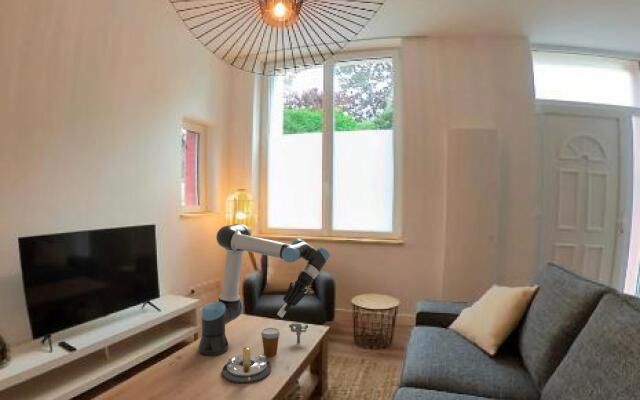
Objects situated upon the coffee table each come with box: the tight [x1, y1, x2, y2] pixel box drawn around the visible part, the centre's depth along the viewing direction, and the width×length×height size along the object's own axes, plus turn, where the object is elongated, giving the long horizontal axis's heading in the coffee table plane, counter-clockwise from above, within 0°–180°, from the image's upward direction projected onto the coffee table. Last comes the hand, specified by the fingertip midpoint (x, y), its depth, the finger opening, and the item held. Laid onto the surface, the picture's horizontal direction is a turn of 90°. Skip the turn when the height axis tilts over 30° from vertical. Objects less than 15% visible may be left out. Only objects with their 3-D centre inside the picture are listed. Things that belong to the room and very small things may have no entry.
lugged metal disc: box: [226, 346, 268, 377], centre depth 173 cm, size 18×18×12 cm
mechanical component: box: [288, 322, 309, 344], centre depth 206 cm, size 3×10×10 cm, turn 89°
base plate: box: [221, 360, 272, 385], centre depth 173 cm, size 22×22×2 cm
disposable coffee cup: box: [260, 327, 281, 358], centre depth 191 cm, size 10×10×12 cm
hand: (279, 315), depth 177 cm, fingers closed
